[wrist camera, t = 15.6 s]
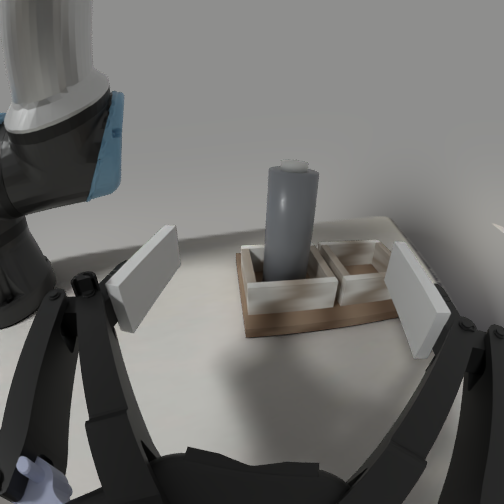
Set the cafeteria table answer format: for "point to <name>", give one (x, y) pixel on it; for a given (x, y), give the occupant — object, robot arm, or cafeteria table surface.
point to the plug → (289, 220)
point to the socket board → (317, 289)
